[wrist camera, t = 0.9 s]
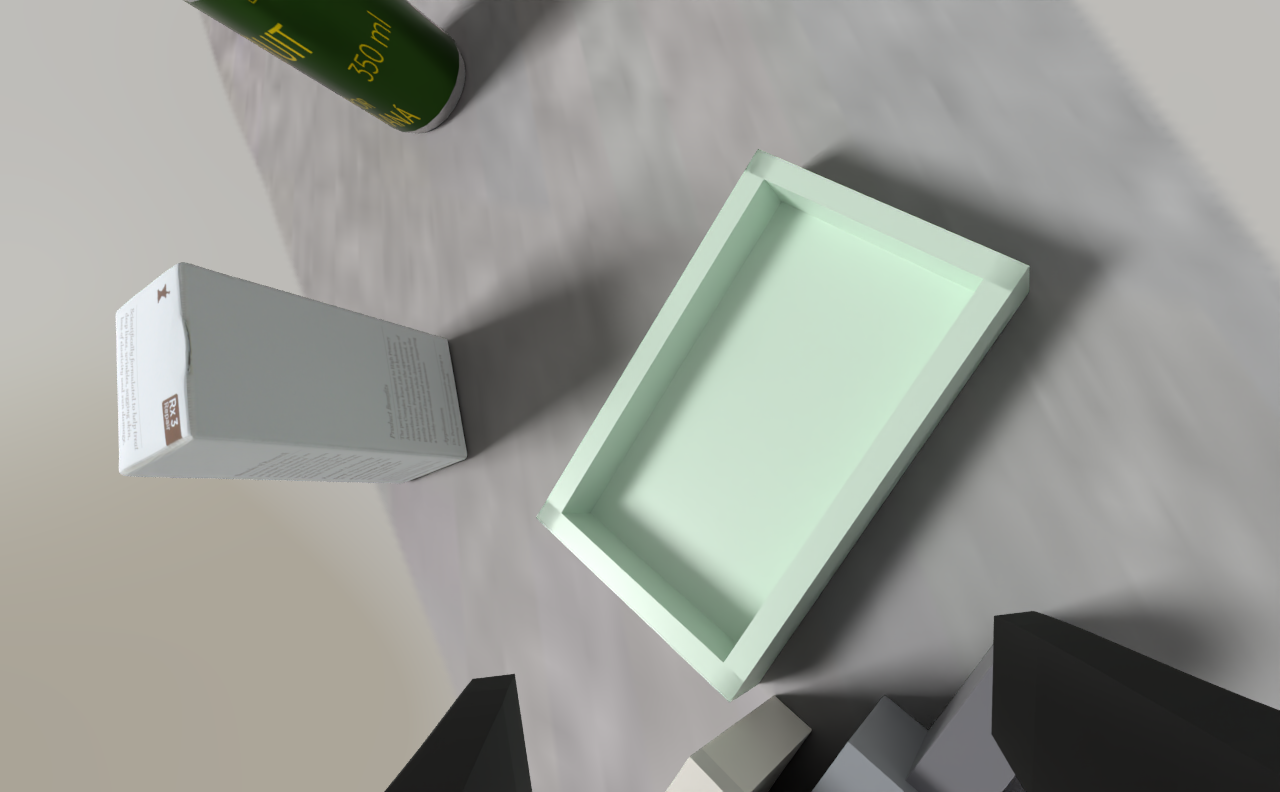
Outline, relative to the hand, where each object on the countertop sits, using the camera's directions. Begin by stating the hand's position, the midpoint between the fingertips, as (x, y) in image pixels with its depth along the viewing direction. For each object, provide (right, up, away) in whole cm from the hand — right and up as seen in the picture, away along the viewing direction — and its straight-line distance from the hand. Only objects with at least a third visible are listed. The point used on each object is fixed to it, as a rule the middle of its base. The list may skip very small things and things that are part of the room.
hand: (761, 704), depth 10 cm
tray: (+3, +4, +14) cm, 14 cm away
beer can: (-12, +20, +25) cm, 35 cm away
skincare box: (-11, +4, +22) cm, 25 cm away
